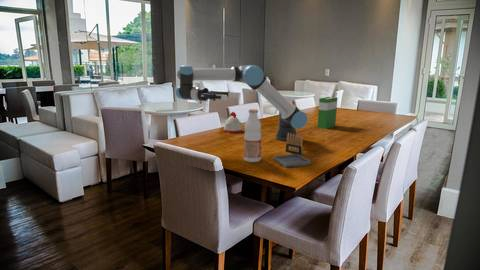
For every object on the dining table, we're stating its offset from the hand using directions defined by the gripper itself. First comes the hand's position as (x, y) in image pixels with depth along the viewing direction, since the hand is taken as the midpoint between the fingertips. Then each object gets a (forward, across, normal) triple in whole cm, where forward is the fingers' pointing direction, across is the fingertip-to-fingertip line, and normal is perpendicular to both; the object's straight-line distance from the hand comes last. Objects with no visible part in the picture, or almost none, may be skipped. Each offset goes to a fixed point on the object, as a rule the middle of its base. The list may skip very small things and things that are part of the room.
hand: (233, 96), depth 178 cm
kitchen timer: (-33, -61, -35) cm, 78 cm away
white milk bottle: (+12, -1, -35) cm, 37 cm away
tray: (+32, -8, -34) cm, 48 cm away
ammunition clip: (+28, -26, -34) cm, 51 cm away
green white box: (+27, -115, -34) cm, 122 cm away
